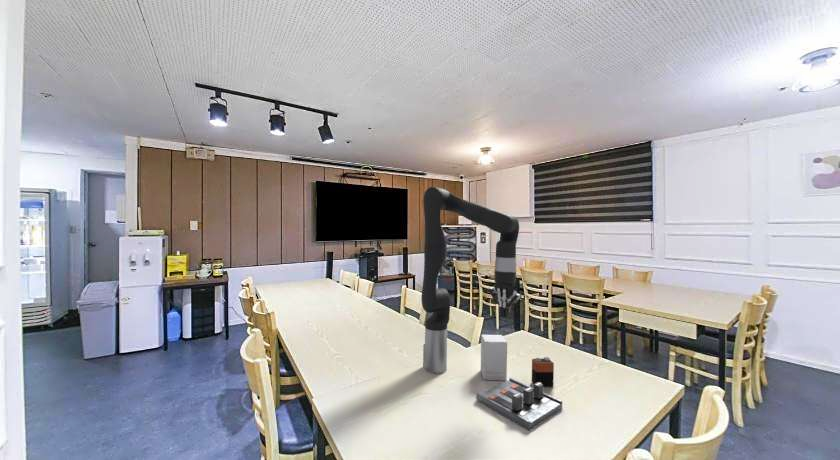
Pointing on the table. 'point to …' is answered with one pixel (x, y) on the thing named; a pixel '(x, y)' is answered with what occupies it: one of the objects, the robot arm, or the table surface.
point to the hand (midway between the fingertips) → (504, 317)
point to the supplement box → (493, 357)
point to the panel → (529, 414)
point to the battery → (543, 371)
